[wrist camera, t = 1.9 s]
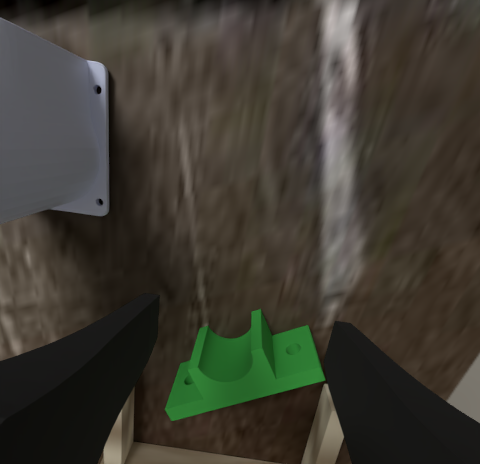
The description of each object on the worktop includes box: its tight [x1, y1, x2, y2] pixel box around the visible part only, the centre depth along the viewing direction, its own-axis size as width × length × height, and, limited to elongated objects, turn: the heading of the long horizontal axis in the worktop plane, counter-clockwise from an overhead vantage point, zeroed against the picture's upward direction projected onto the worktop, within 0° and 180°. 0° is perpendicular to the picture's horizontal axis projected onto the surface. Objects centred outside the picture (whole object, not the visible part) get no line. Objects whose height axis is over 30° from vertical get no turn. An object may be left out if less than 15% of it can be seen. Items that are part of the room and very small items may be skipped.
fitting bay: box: [100, 384, 344, 464], centre depth 24 cm, size 12×20×2 cm, turn 82°
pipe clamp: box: [165, 309, 325, 421], centre depth 21 cm, size 11×4×5 cm, turn 112°
